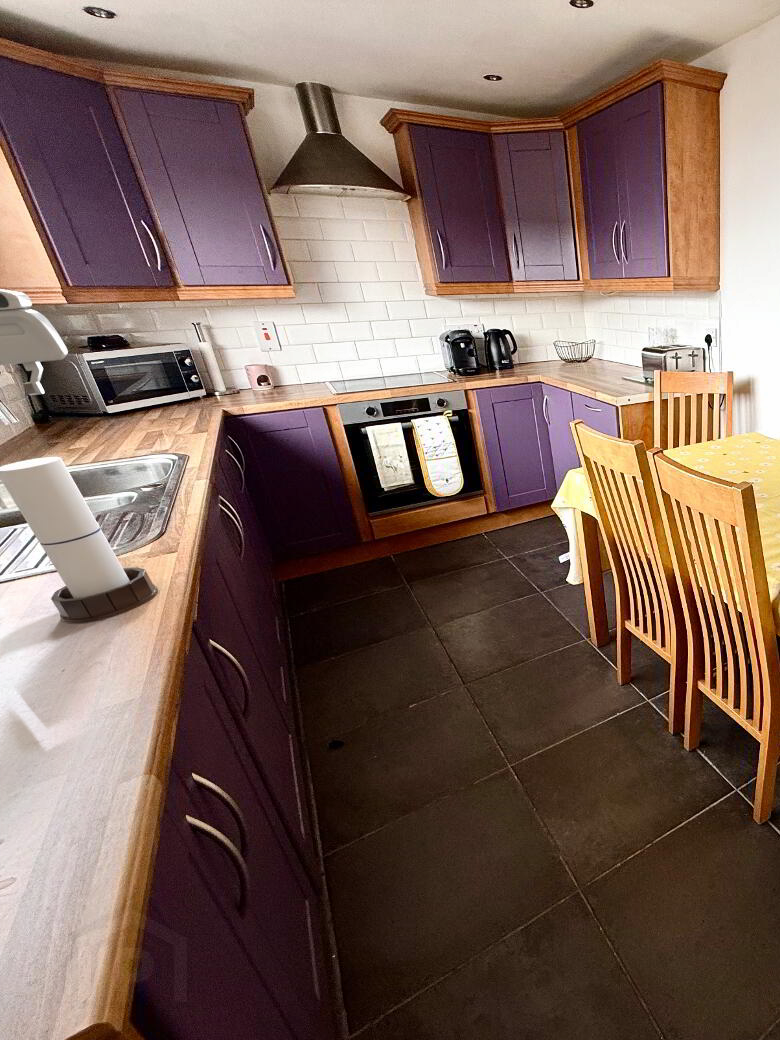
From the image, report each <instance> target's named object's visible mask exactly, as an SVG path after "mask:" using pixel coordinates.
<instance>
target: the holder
mask: <svg viewBox="0 0 780 1040" xmlns="http://www.w3.org/2000/svg"><path fill="white" fill-rule="evenodd" d="M122 568H123V570H124V571H125V573H126V575H127V577H128V579H129V580H130V582H128V583H126V584H124V585H122V586H119V587H117V588H114V589H111V590H109V591H106V592H103V593H99V594H95V595H91V596H87V597H83V598H73V596H72V594H71V593H70V591H69V590H68V588H67V586H66V585H65V586H63V587H61V588H59V589H57V590H56V591H54V593H53V594H52V596H51V597H50V600H51V601H52V603H53V605H54V606H55V607H56V609H57V611H58V612H59V614H60V615H59V618H60V620H61V621H62V620H63V621H62V622H63V623H66V622H67V624H85V623H90V622H95V621H100V620H105V619H108V618H111V617H113V616H117V615H121V614H124V613H126V612H128V611H131V610H133V609H136V608H138V607H140V606H142V605H144V604H145V603H147V602H148V601H149V602H150V600H152V599H153V598H154V597H156V595H157V594H158V592H159V588H158V587H157V585H156V584H154V583H153V582H152V579H151V578H150V576H149V574H148V572H147V569H145V568H141V567H137V566H133V567H122Z"/></svg>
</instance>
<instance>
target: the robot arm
mask: <svg viewBox="0 0 780 1040" xmlns="http://www.w3.org/2000/svg"><path fill="white" fill-rule="evenodd" d="M32 306H33V303H32V300H31V297H30V296H29V295H28V294H26V293H24V292H21V291H15V290H9V289H3V288H0V366H9V365H20V364H22V365H23V367H24V369H25V371H27V372H30V371H31V375H30V380H29V381H28V382H24V383H22V386H23V388H24V389H25V390H26V394H27V395H29V396H36V395H38V396H39V395H44V394H45V390H44V388H43V386H42V384H41V380H42V375H43V371H44V367H43V366H42V364H41V363H42V362H51V361H53V362H54V361H61V360H64V359H66V357H67V356H68V353H69V350H68V347H67V346H66V344H65V343H64V341H63V339H62V337H61V336H60V334H59V332H58V331H57V330H56V329H55V327H54V326H53V324H52V323H51V322H50V320H49V319H48V318H47V317H46V316H45V315H43V314H42V313H40V312H39V311H37V310H34V309H31V307H32Z"/></svg>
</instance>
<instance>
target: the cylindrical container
mask: <svg viewBox="0 0 780 1040" xmlns="http://www.w3.org/2000/svg"><path fill="white" fill-rule="evenodd" d="M0 481H1V482H2V484H3V486H4V487H5V489H6V491H7V492H8V494H9V496H10V497H11V499H12V501H13V502H14V504H15V505H16V507H17V508H18V510H19V512H20V514H21V515H22V516H23V518H24V520H25V521H26V524H27V525H28V526H29V528H30V530H31V532H32V533H33V535H34V536H35V538H36V539H37V541H38V543H39V545H40V546H41V548H42V549H43V551H44V552H45V554H46V555H47V557H48V559H49V560H50V562H51V564H52V565H53V567H54V569H55V570H56V572H57V573H58V575H59V577H60V578H61V580H62V582H63V583H64V585H65V586H67V588H68V590H69V591H70V593H71V594H72V596H73V598H83V597H87V596H91V595H95V594H99V593H103V592H106V591H109V590H111V589H114V588H117V587H119V586H122V585H124V584H126V583H128V582H130V580H129V579H128V577H127V575H126V573H125V571H124V570H123V568H124V567H123V566H122V564H121V562H120V560H119V559H118V557H117V556H116V554H115V551H114V550H113V548H112V546H111V545H110V543H109V541H108V539H107V538H106V535H105V534H104V532H103V531H102V530H103V529H102V528H101V527H100V525H99V523H98V522H97V520H96V518H95V516H94V514H93V513H92V511H91V509H90V507H89V505H88V503H87V501H86V500H85V498H84V496H83V494H82V493H81V491H80V489H79V488H78V486H77V484H76V482H75V481H74V479H73V476H72V475H71V473H70V471H69V469H68V468H67V466H66V464H65V462H64V461H63V458H62V457H61V456H47V457H45V456H44V457H38V458H37V457H36V458H31V459H25V460H21V461H16V462H12V463H8V464H4V465H1V466H0Z"/></svg>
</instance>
